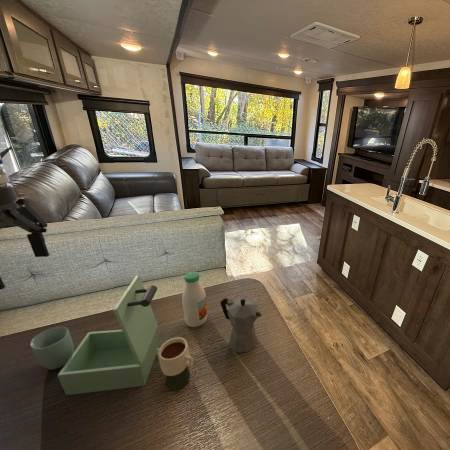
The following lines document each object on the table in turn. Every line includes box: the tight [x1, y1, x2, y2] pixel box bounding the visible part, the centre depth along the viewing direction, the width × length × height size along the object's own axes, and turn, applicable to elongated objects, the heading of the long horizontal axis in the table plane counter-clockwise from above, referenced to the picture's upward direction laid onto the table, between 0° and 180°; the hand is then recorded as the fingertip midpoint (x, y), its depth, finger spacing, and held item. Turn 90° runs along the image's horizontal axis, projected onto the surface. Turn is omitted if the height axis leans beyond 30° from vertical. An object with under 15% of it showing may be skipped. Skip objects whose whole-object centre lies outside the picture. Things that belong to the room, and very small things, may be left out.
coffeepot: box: [219, 297, 262, 353], centre depth 81 cm, size 15×9×18 cm, turn 67°
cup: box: [29, 325, 76, 371], centre depth 70 cm, size 8×8×10 cm
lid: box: [112, 274, 159, 366], centre depth 67 cm, size 19×14×6 cm
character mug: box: [156, 337, 194, 391], centre depth 68 cm, size 11×7×13 cm, turn 77°
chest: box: [57, 328, 161, 396], centre depth 71 cm, size 19×14×8 cm
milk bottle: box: [181, 271, 208, 328], centre depth 87 cm, size 8×8×20 cm
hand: (21, 270), depth 60 cm, fingers open, 13 cm apart
